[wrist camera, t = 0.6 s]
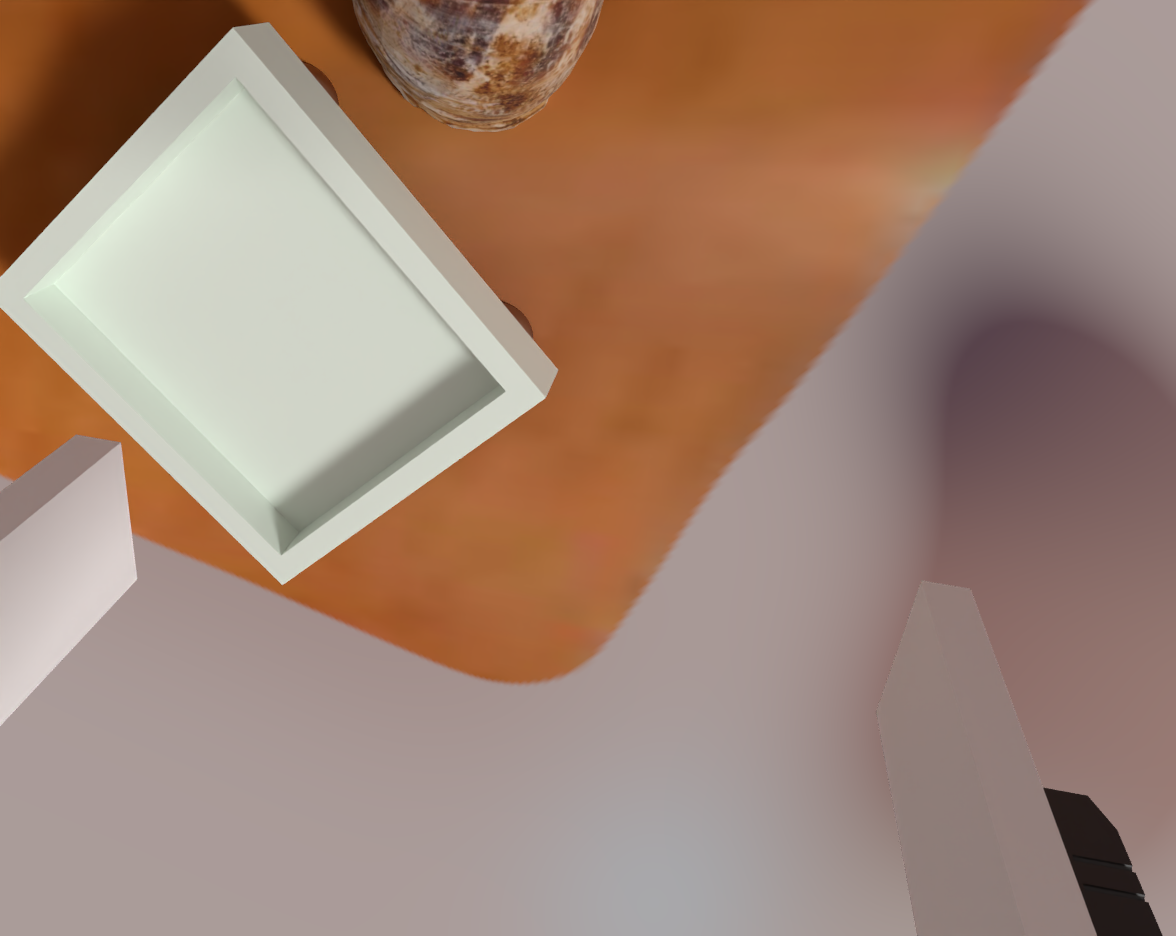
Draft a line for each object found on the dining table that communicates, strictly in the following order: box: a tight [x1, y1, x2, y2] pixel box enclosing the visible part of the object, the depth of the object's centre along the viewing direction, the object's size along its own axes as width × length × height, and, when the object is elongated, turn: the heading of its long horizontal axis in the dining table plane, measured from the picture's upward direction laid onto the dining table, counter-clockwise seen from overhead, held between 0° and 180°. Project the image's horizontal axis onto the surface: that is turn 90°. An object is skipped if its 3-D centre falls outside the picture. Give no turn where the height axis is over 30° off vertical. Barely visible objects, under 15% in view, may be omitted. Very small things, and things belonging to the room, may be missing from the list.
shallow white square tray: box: [0, 22, 558, 585], centre depth 37 cm, size 15×14×5 cm
